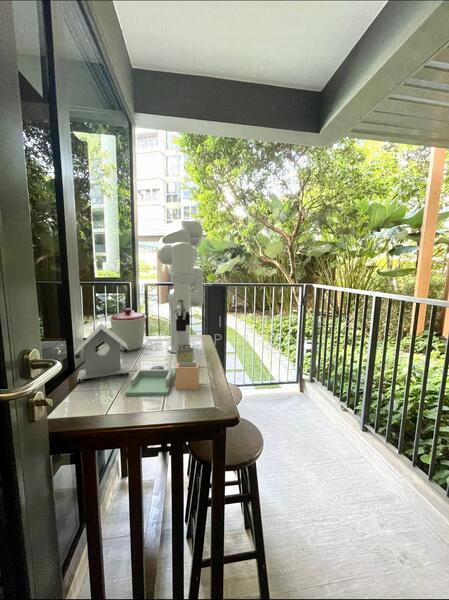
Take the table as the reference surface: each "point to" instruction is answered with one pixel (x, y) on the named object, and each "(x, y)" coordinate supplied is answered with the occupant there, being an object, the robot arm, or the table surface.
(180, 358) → the lighter
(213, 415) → the table surface
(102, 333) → the grey nesting box
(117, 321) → the canister
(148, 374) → the green walled tray
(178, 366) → the chute block
